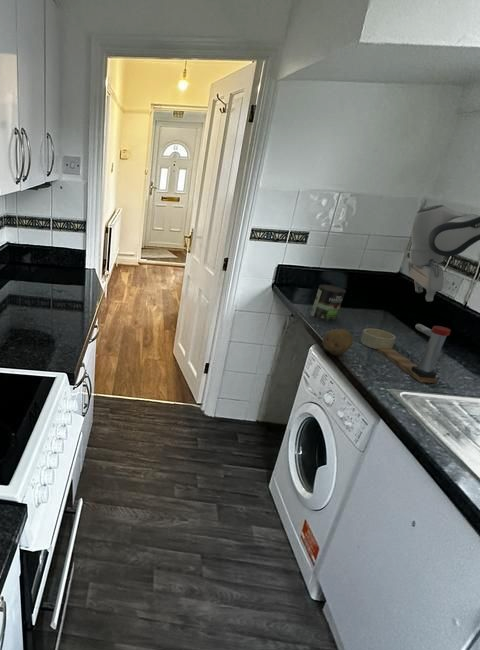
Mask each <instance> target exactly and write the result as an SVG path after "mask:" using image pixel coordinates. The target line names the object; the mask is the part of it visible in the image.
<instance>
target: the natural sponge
mask: <svg viewBox="0 0 480 650" xmlns="http://www.w3.org/2000/svg"><path fill="white" fill-rule="evenodd" d="M353 340H354V339H353V336H352V334H351V333H350V332H349V331H348V330H346V329H343V328H334V329H331V330H329V331H327V332H326V333H325V334H324V336H323V337H322V342H321V344H322V346H323V348H324V349H325V350H326V351H327V352H329V354H330V355H332V356H341V355H343V354H345V353H346V352H347V351H348V350H350V349H351V348H352V346H353V343H354V341H353Z"/></svg>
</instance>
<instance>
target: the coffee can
mask: <svg viewBox="0 0 480 650" xmlns="http://www.w3.org/2000/svg"><path fill="white" fill-rule="evenodd" d="M346 293H347V290H346V289H345V288H343V287H340V286H337V285H332V284H319V285H318V289H317V293H316V296H315V299H314V302H313V305H312V309H311V312H310V314H309V315H310V316H311V317H312V318H313V319H315V320H318V321H321V322H327V323H328V322H331V323H332V322H335V321H336V319H337V318H338V314H339V311H340V309H341V305H342V303H343V299H344V297H345V294H346Z"/></svg>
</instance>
